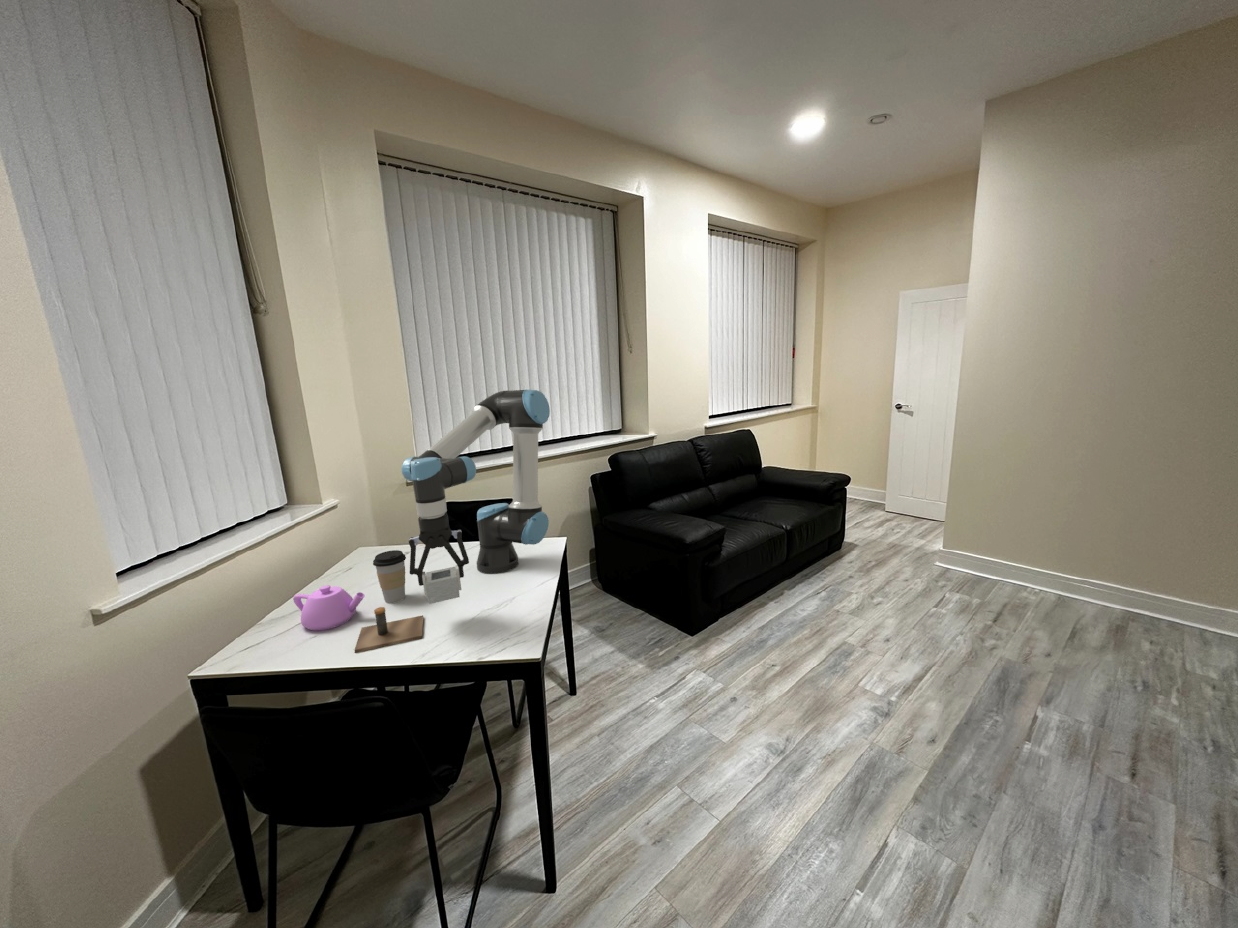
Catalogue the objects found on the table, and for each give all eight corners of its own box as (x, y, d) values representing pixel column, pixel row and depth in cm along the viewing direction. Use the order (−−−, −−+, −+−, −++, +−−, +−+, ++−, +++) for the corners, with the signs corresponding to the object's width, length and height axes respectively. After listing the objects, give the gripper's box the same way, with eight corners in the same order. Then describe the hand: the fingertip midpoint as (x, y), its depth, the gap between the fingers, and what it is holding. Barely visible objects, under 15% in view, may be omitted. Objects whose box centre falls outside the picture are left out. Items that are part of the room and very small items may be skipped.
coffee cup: (398, 606, 142) (391, 561, 139) (371, 605, 144) (365, 559, 141) (417, 593, 151) (411, 549, 148) (392, 591, 153) (386, 548, 150)
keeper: (423, 617, 135) (420, 592, 133) (422, 638, 123) (418, 611, 122) (362, 630, 129) (358, 604, 128) (354, 652, 118) (350, 624, 116)
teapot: (355, 630, 129) (350, 595, 127) (282, 634, 128) (276, 599, 126) (378, 606, 143) (374, 574, 141) (312, 610, 142) (307, 578, 140)
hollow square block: (458, 585, 135) (455, 566, 134) (459, 597, 128) (456, 577, 126) (429, 591, 132) (425, 572, 131) (428, 604, 125) (425, 583, 124)
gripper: (471, 505, 132) (480, 578, 137) (391, 517, 125) (403, 593, 129) (473, 512, 125) (483, 589, 130) (389, 525, 118) (402, 606, 122)
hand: (443, 591), depth 129 cm, fingers closed on hollow square block, 8 cm apart
